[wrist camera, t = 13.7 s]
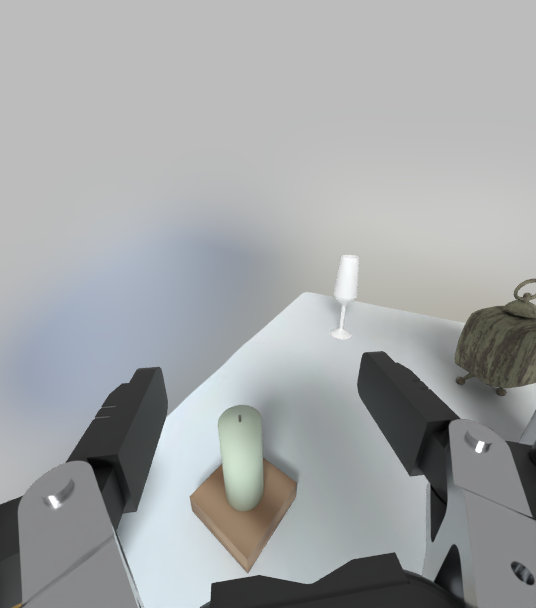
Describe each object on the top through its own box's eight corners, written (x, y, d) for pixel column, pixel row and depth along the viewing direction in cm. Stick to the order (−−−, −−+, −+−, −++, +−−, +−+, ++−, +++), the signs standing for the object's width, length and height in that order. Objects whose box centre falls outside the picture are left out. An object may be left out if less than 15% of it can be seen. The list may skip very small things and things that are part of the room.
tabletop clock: (495, 371, 61) (537, 270, 52) (539, 397, 53) (599, 284, 44) (445, 380, 58) (480, 275, 49) (484, 409, 50) (535, 290, 41)
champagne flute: (327, 336, 77) (335, 257, 68) (331, 327, 83) (339, 253, 73) (350, 341, 74) (361, 260, 65) (353, 331, 80) (364, 255, 71)
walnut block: (243, 455, 41) (242, 442, 40) (295, 496, 36) (296, 482, 34) (192, 510, 34) (189, 496, 33) (247, 573, 28) (246, 559, 27)
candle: (243, 464, 37) (238, 394, 32) (271, 486, 34) (270, 412, 29) (217, 494, 33) (207, 419, 28) (246, 520, 30) (240, 442, 26)
